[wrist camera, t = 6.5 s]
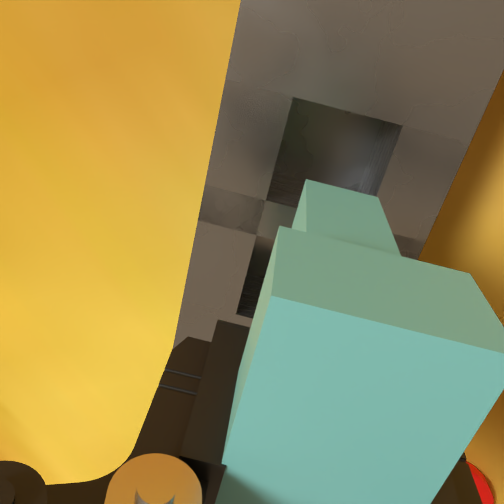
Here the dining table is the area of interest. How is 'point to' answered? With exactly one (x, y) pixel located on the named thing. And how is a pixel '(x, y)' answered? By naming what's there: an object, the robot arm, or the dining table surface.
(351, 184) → the rectangular board
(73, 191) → the dining table surface
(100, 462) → the dining table surface
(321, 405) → the teal rectangular prism
